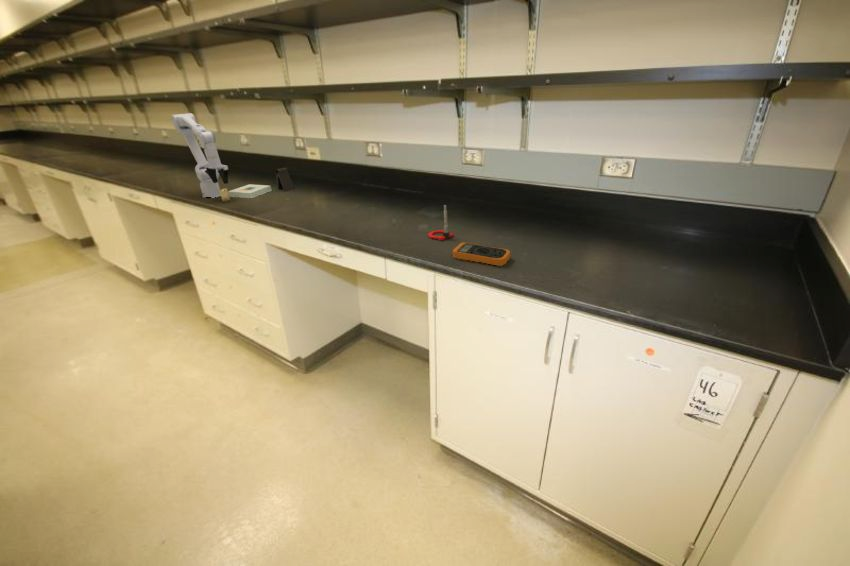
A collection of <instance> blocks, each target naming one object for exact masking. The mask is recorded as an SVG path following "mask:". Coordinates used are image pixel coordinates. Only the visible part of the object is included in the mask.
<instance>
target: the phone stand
mask: <svg viewBox="0 0 850 566" xmlns="http://www.w3.org/2000/svg"><path fill="white" fill-rule="evenodd" d="M275 175H276V189H277V190H278V189H279V191H282V190H283V192H288V190H289V191H291V189H293V190H295V186H294V185H293V181H292V178H291V176H290V173H289V170H288V168H287V167H286V166H285V167H282V168H281V167H280V168H276V169H275Z"/></svg>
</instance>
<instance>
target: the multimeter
mask: <svg viewBox="0 0 850 566" xmlns="http://www.w3.org/2000/svg"><path fill="white" fill-rule="evenodd" d="M452 257H453V258H454V259H455V258H458V259H457V260H460V259H465V260H464V261H467V260H470V261H469V262H472V261H475V262H474V263H478V262H482V263H481V264H483V263H487V264H486V265H488V264H492V265H498V266H499V265H504V264H505V265H506V264H507V263H508V262H509V260H510V258H511V251H510V250H509V249H506V248H501V247H493V246H487V245H486V246H485V245H480V244H475V243H469V242H461V243H459V244H458V245H457V246H455V248H453V249H452ZM507 261H508V262H507ZM492 265H491V266H492ZM505 265H504V266H505ZM498 266H497V267H498Z"/></svg>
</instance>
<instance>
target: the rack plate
mask: <svg viewBox="0 0 850 566" xmlns="http://www.w3.org/2000/svg"><path fill="white" fill-rule="evenodd" d="M272 190H273V189H272V186H271V185H265V184H254V183H253V184H250V183H249V184H246V185H243V186H240V187H237V188H234V189H231V190H229V191H228V190H227V191H228V194H229V197H230V198H238V197H239V198H241V199H250V198H251V199H253V198H257V197H259V195H260V196H262V195H265V194H267V192H268V193H270V192H272ZM251 199H250V200H251Z"/></svg>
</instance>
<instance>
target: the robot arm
mask: <svg viewBox="0 0 850 566" xmlns="http://www.w3.org/2000/svg"><path fill="white" fill-rule="evenodd" d="M171 122H172V124H173V126H174V128H175V130H176V131H177V133H178V134H180V135H182V136H183V139H184V140H185V142H186V144H187V146H188V147H189V149H190V152H191V154H192V155H193V157H194V160H195V161H196V163H197V164H196V165H195V167H194V172H195V174H196V176H197V179H198V180H199V181H200V183H199V187H200V190H201V194H202V196H201V197H202V198H206V197H211V198H210V199H216V198H219V197H221V195H220V192H219V189H221V187H220V184H219V181H218V180H219V178H220V177H221V180H222V183H223V184H224V185H227V184H229V172H230V169H229V166H228V165H225V164H222V163H221V158H220V156H219V152H218V149H217V145H216V142H217V139H216V136H215V133H214V132H213V130H208V129H206V128H205V127H204V126H203V125H201V124H200V123H197V121H196V118H195V115H194V114H193V113H191V112H189V113H188V112H187V113H179V114H171ZM194 135H195V136H196V137H197V139H198V141H199V143H200V145H201V147H202V148H203V151H202V149H201V147H200V145H199V143H198V141H197V139H196V137H195V136H194ZM203 152H204V153H203ZM215 197H216V198H215Z"/></svg>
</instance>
